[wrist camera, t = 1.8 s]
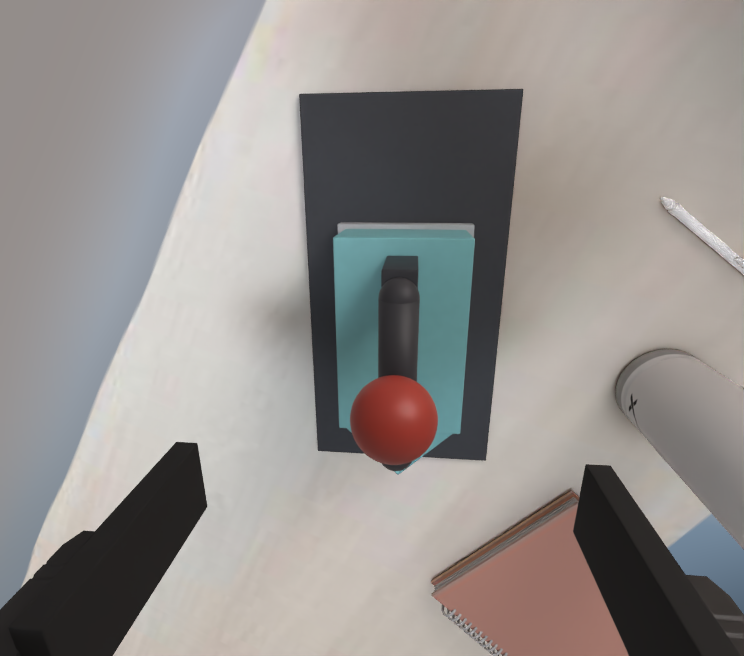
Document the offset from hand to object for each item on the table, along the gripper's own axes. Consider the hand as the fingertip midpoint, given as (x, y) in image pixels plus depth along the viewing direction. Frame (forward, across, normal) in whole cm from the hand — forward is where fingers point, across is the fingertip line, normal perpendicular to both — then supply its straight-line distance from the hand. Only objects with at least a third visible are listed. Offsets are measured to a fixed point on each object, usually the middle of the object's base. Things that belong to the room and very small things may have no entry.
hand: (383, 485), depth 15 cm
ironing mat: (+19, 0, +2) cm, 19 cm away
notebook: (+19, +18, -30) cm, 40 cm away
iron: (+18, 0, -1) cm, 18 cm away
